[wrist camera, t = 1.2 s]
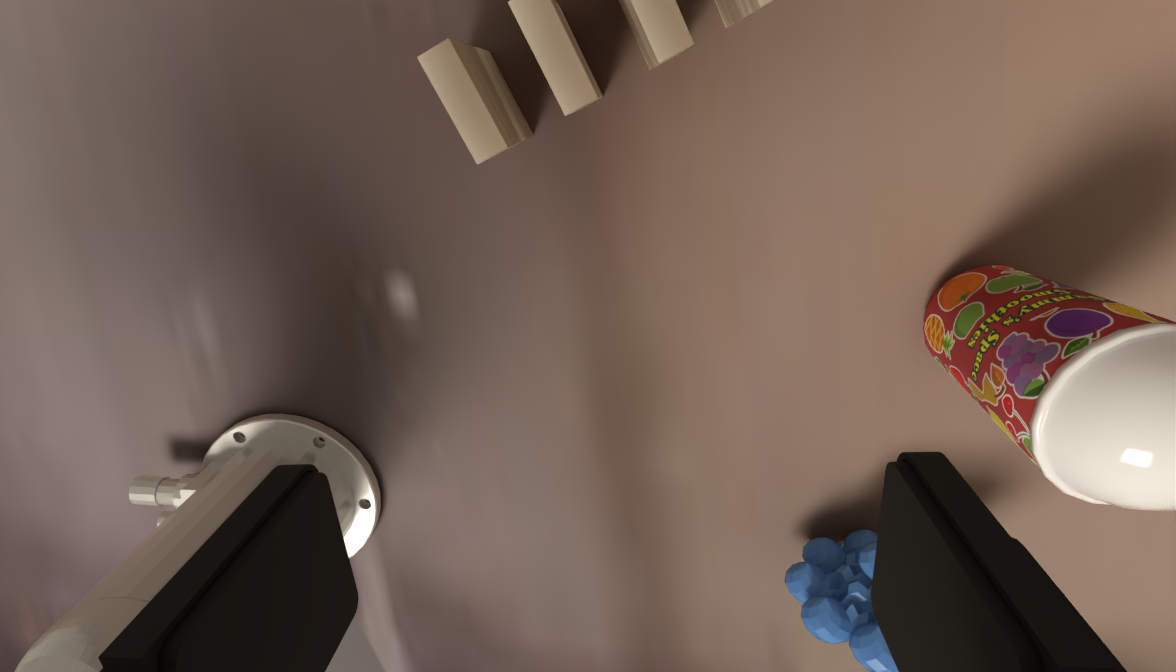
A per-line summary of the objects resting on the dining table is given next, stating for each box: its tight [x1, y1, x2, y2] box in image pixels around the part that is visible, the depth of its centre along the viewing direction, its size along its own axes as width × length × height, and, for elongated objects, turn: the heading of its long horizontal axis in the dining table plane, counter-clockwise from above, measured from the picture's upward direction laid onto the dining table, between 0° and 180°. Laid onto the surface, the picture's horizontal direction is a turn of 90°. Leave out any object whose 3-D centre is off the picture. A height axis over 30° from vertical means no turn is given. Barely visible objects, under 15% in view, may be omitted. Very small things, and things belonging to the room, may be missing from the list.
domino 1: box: [417, 38, 533, 165], centre depth 32 cm, size 2×5×9 cm, turn 28°
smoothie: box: [923, 265, 1176, 511], centre depth 30 cm, size 8×8×20 cm
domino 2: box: [508, 0, 603, 116], centre depth 31 cm, size 2×5×9 cm, turn 28°
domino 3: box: [618, 0, 694, 70], centre depth 30 cm, size 2×5×9 cm, turn 28°
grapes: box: [785, 529, 899, 672], centre depth 39 cm, size 12×7×12 cm, turn 101°
